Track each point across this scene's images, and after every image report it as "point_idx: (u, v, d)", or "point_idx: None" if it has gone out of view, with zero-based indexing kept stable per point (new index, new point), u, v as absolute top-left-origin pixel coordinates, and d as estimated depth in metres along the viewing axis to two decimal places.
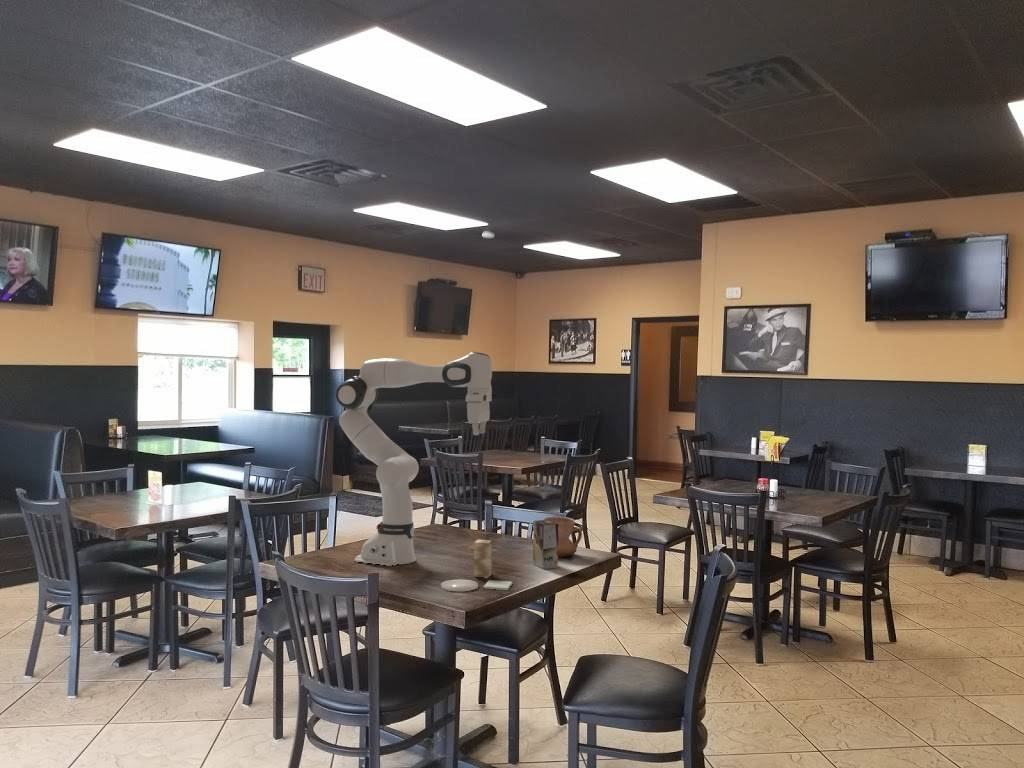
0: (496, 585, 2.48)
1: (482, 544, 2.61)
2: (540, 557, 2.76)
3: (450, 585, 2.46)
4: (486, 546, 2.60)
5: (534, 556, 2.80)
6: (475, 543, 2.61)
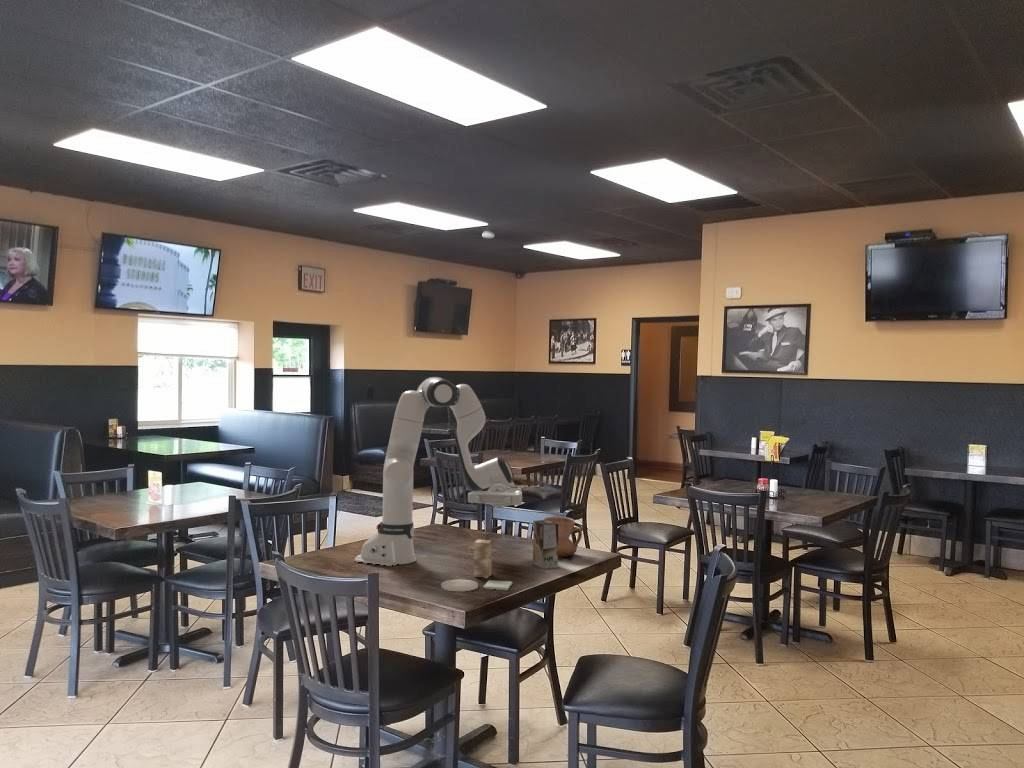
0: (496, 585, 2.48)
1: (482, 544, 2.61)
2: (540, 557, 2.76)
3: (450, 585, 2.46)
4: (486, 546, 2.60)
5: (534, 556, 2.80)
6: (475, 543, 2.61)
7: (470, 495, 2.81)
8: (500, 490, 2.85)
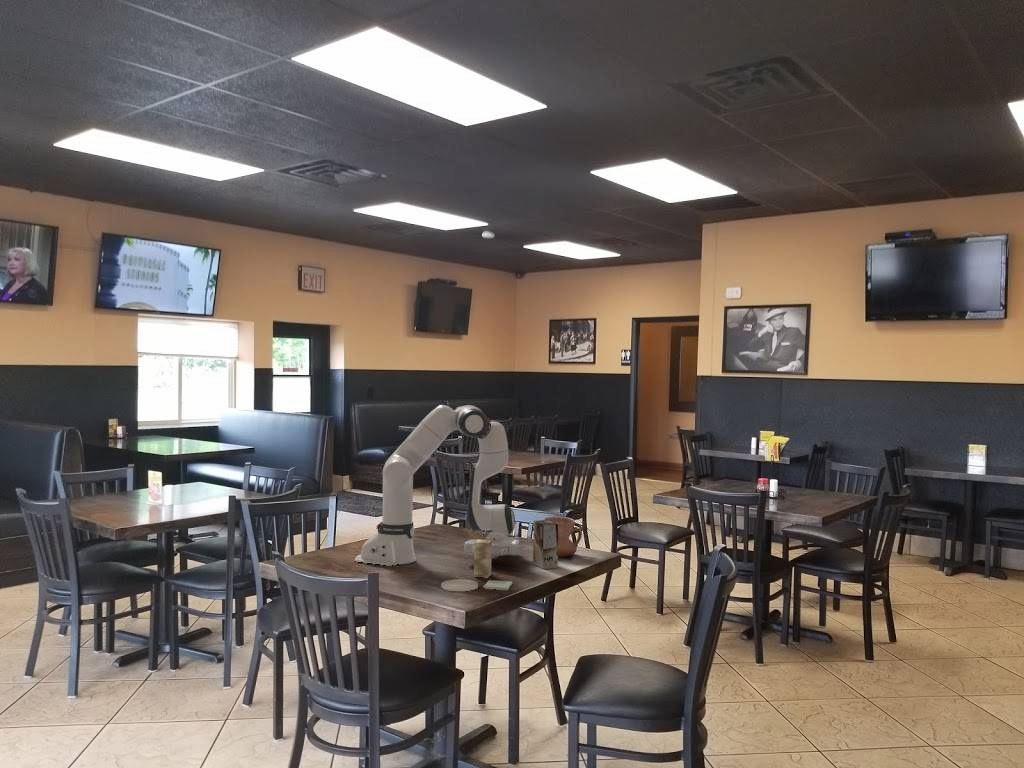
0: (496, 585, 2.48)
1: (482, 544, 2.61)
2: (540, 557, 2.76)
3: (450, 585, 2.46)
4: (486, 546, 2.60)
5: (534, 556, 2.80)
6: (475, 543, 2.61)
7: (467, 545, 2.78)
8: (497, 539, 2.82)
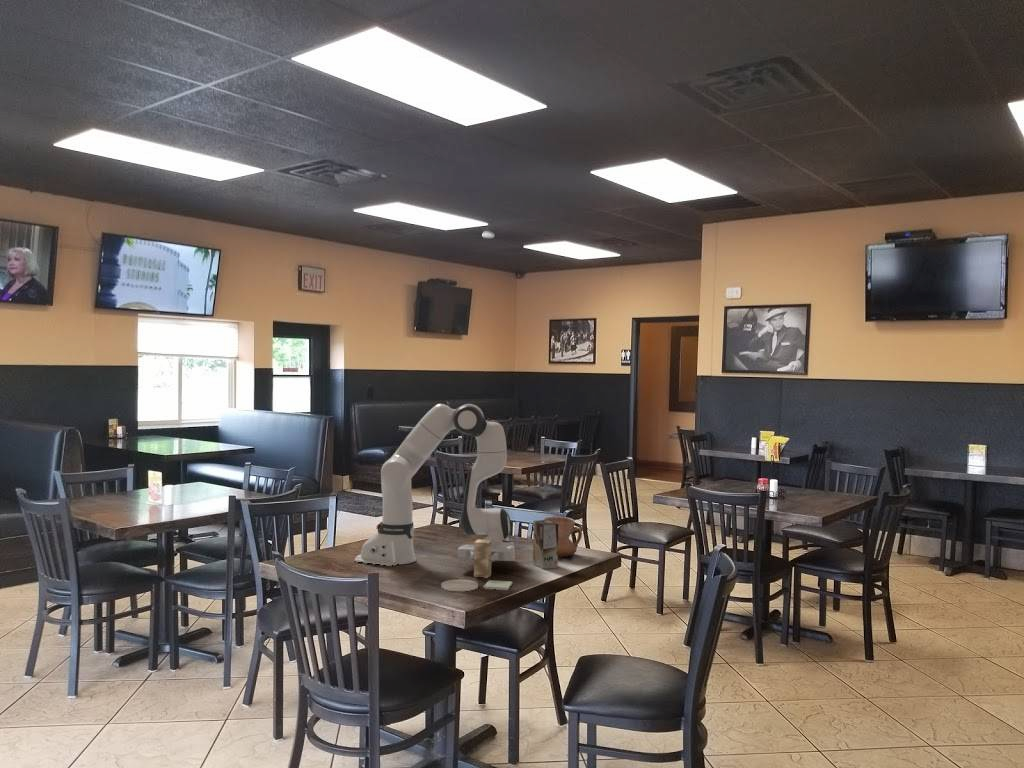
0: (496, 585, 2.48)
1: (482, 544, 2.61)
2: (540, 557, 2.76)
3: (450, 585, 2.46)
4: (486, 546, 2.60)
5: (534, 556, 2.80)
6: (475, 543, 2.61)
7: (460, 550, 2.68)
8: (492, 545, 2.72)
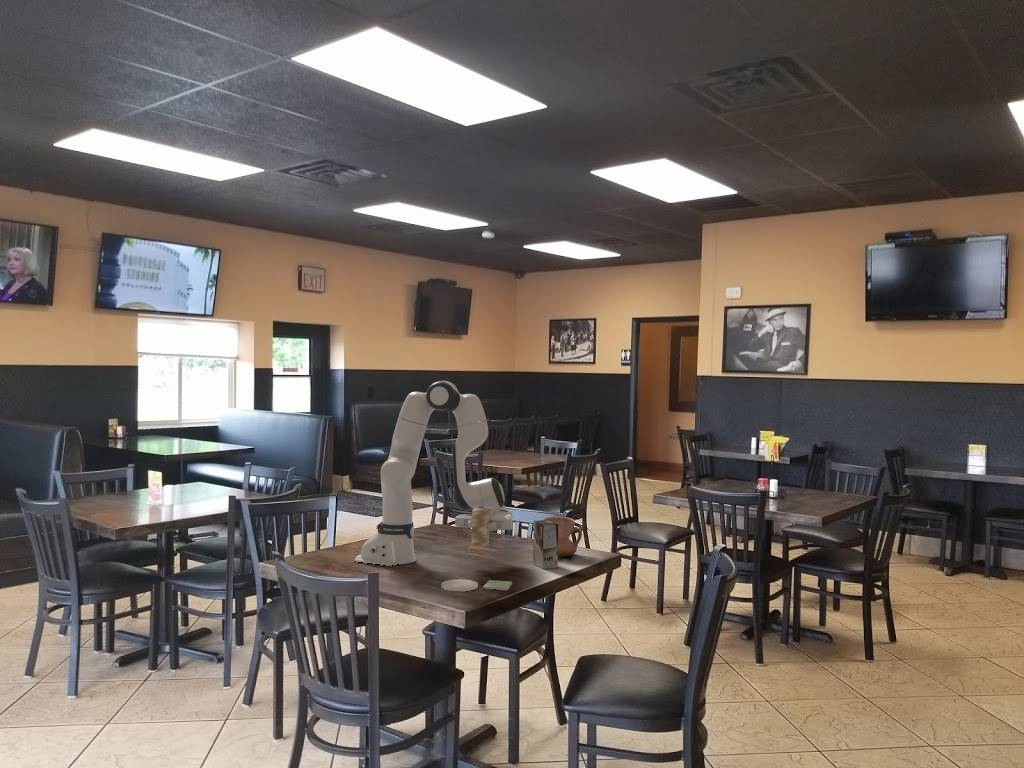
0: (496, 585, 2.48)
1: (480, 512, 2.59)
2: (540, 557, 2.76)
3: (450, 585, 2.46)
4: (483, 513, 2.59)
5: (534, 556, 2.80)
6: (473, 511, 2.59)
7: (457, 519, 2.66)
8: (489, 514, 2.70)
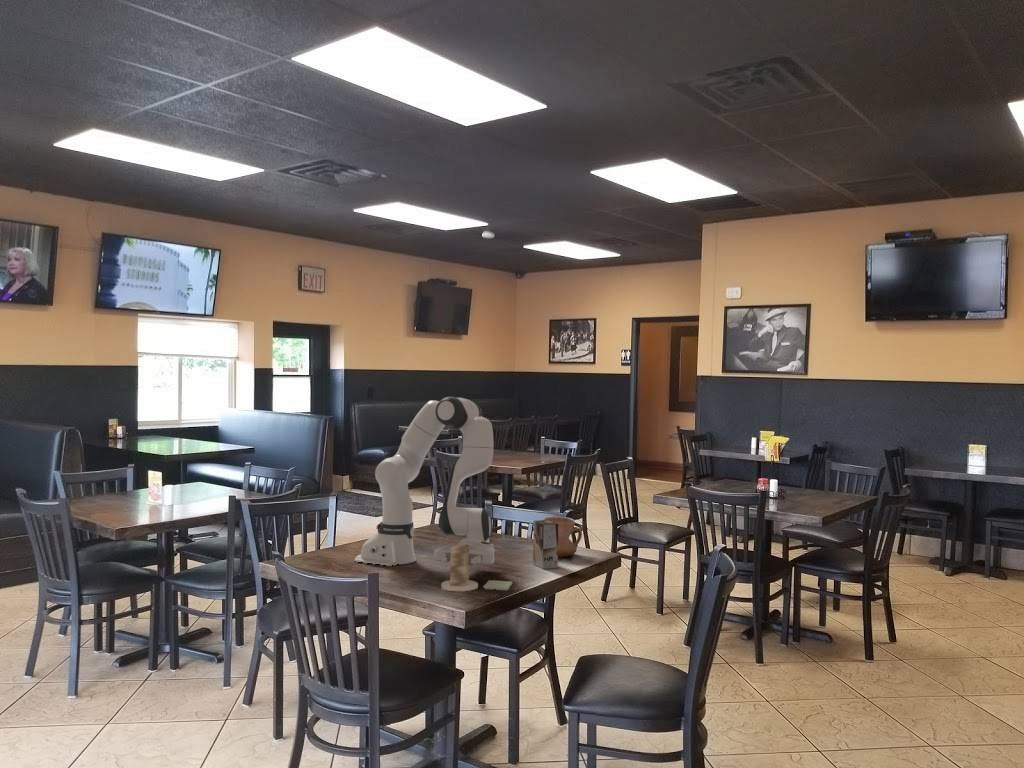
0: (496, 585, 2.48)
1: (459, 550, 2.46)
2: (540, 557, 2.76)
3: None
4: (463, 552, 2.46)
5: (534, 556, 2.80)
6: (451, 549, 2.46)
7: (436, 552, 2.53)
8: (470, 546, 2.57)
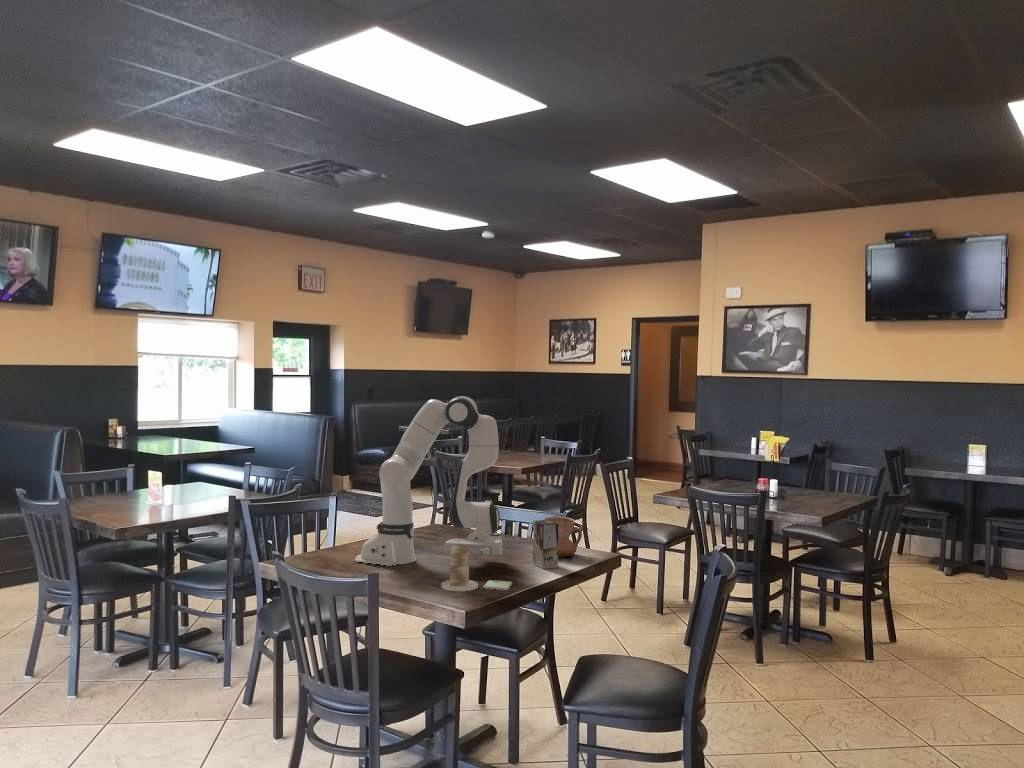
0: (496, 585, 2.48)
1: (459, 550, 2.46)
2: (540, 557, 2.76)
3: None
4: (463, 552, 2.46)
5: (534, 556, 2.80)
6: (451, 549, 2.46)
7: (447, 544, 2.66)
8: (479, 538, 2.70)
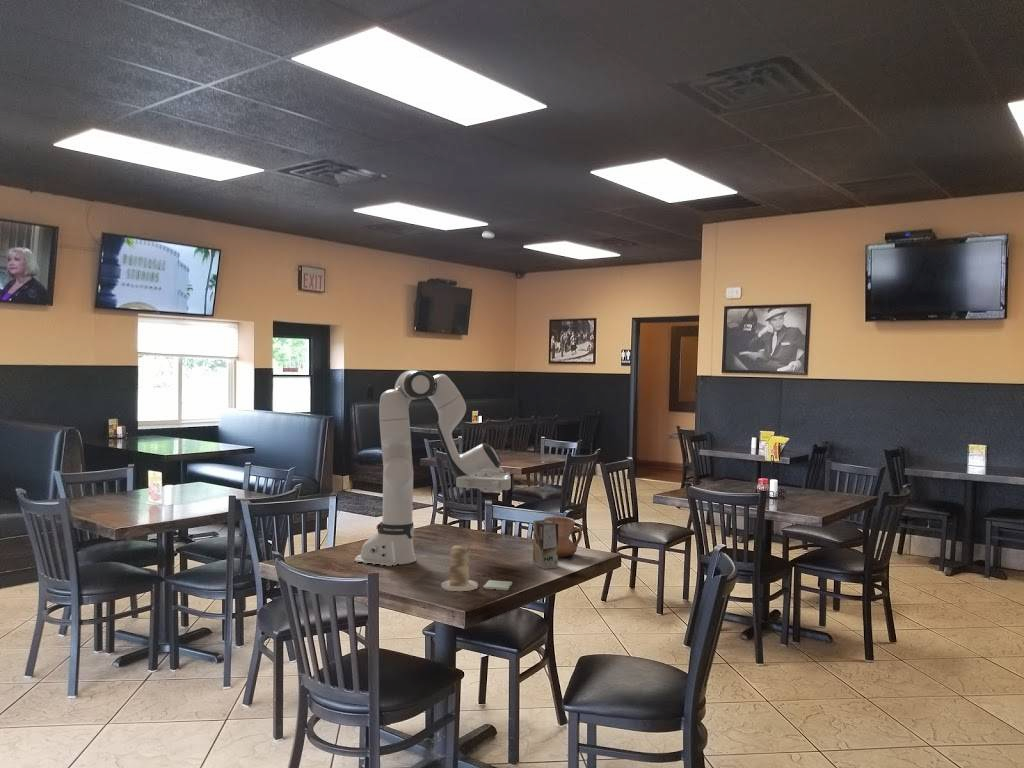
0: (496, 585, 2.48)
1: (459, 550, 2.46)
2: (540, 557, 2.76)
3: None
4: (463, 552, 2.46)
5: (534, 556, 2.80)
6: (451, 549, 2.46)
7: (458, 479, 2.80)
8: (489, 475, 2.84)
